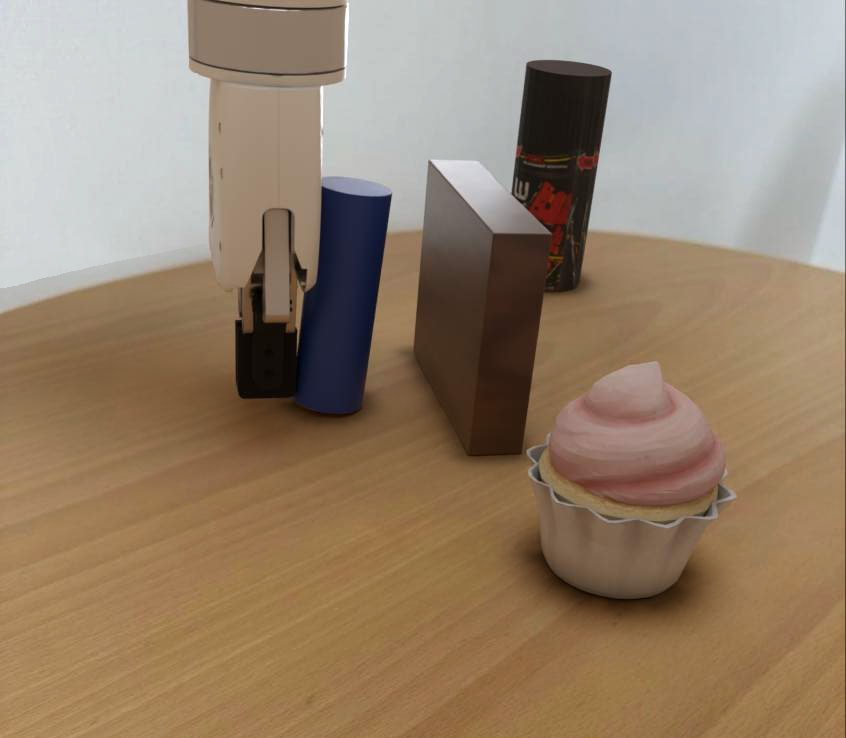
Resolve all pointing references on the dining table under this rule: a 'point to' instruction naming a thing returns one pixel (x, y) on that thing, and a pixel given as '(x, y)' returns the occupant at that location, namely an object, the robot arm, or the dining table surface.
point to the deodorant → (561, 157)
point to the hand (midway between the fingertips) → (265, 391)
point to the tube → (342, 296)
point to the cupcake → (627, 485)
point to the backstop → (479, 303)
